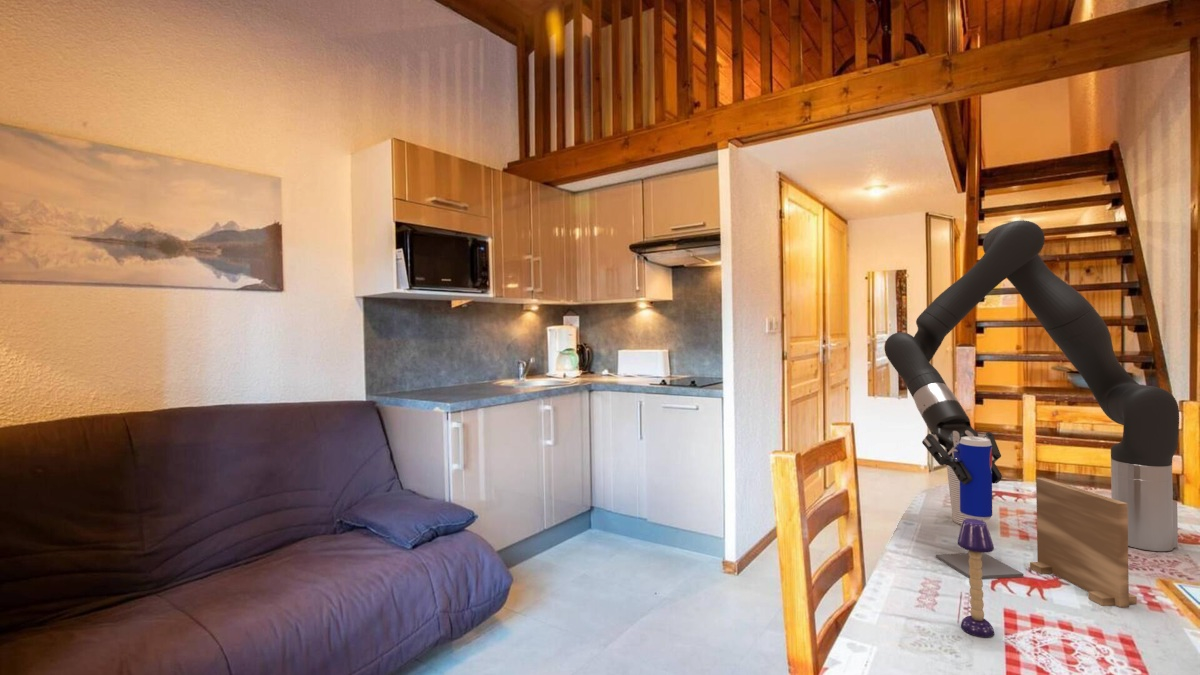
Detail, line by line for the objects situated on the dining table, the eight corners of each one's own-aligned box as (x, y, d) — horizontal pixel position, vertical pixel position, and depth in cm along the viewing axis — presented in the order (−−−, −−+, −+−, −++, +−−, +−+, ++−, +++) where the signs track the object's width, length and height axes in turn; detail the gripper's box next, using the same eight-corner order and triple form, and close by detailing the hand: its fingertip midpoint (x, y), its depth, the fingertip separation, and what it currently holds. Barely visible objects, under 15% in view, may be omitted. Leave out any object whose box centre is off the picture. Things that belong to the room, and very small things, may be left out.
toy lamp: (951, 622, 88) (949, 516, 87) (979, 620, 88) (977, 515, 88) (974, 639, 83) (972, 527, 83) (1004, 636, 83) (1002, 525, 83)
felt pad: (983, 555, 112) (983, 552, 112) (1023, 576, 102) (1023, 573, 102) (935, 557, 112) (935, 554, 112) (971, 579, 102) (971, 576, 102)
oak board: (1056, 565, 107) (1055, 477, 107) (1141, 606, 91) (1140, 502, 91) (1026, 566, 107) (1025, 478, 106) (1106, 608, 91) (1105, 504, 91)
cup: (950, 526, 129) (949, 459, 128) (943, 515, 136) (942, 452, 136) (994, 530, 125) (993, 462, 125) (984, 518, 133) (983, 454, 133)
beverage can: (997, 521, 104) (997, 441, 104) (967, 519, 105) (966, 441, 105) (984, 512, 109) (984, 436, 109) (955, 510, 110) (954, 435, 110)
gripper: (914, 399, 114) (956, 473, 102) (982, 397, 115) (1030, 470, 103) (899, 421, 119) (937, 493, 108) (964, 419, 120) (1008, 490, 108)
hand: (982, 481), depth 105 cm, fingers closed on beverage can, 5 cm apart
